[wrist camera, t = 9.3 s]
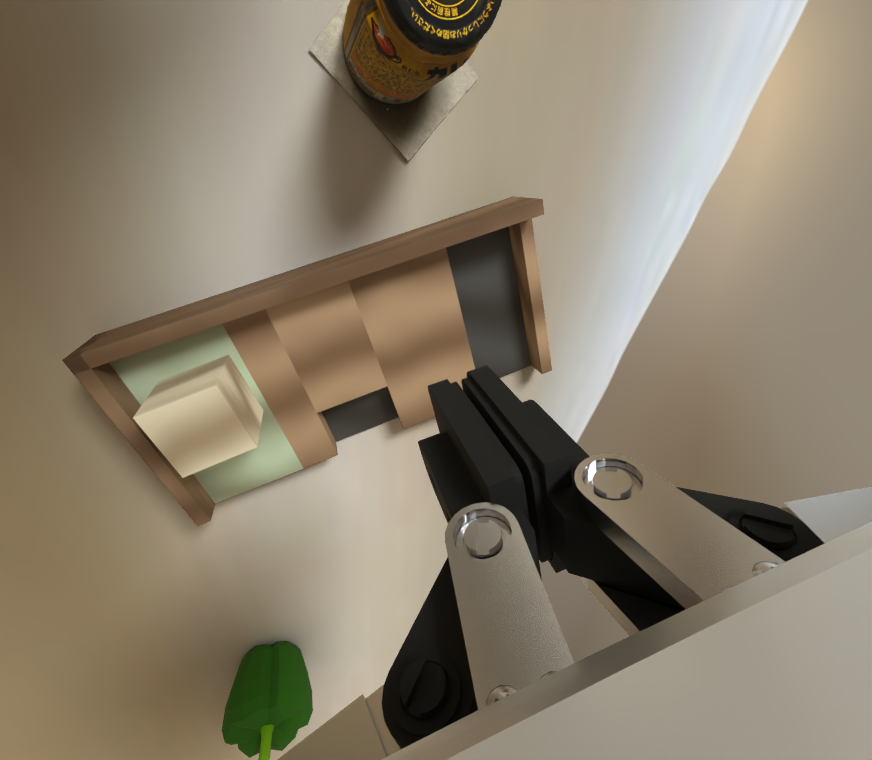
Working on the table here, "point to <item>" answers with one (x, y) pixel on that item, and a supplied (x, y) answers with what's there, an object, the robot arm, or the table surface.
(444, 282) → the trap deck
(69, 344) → the table surface
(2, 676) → the table surface
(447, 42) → the condiment
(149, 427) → the birch block
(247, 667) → the bell pepper
